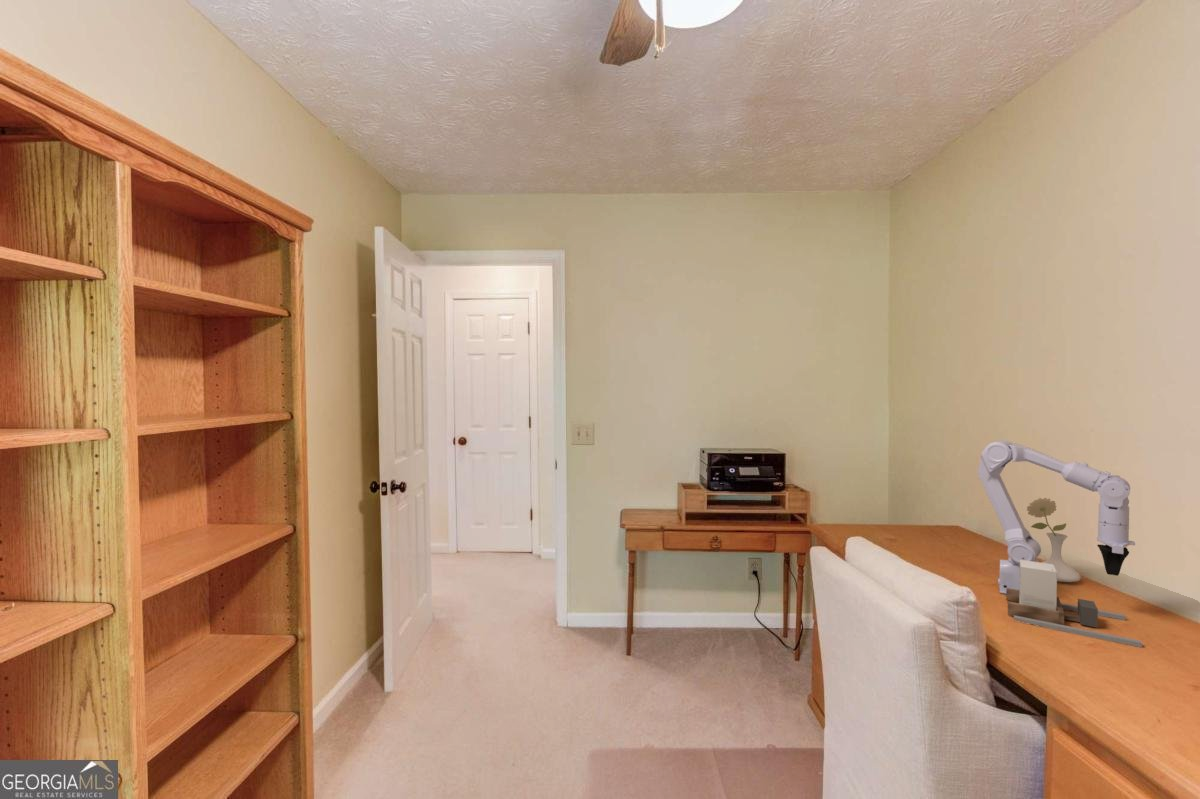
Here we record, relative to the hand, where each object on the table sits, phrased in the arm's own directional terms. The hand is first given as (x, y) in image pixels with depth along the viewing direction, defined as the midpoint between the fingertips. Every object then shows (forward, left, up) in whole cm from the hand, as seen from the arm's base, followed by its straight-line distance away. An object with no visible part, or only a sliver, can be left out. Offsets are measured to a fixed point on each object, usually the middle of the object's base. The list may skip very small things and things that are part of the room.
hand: (1112, 574), depth 138 cm
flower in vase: (-10, +25, -11) cm, 28 cm away
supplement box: (-16, -11, -11) cm, 22 cm away
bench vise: (-13, -11, -10) cm, 20 cm away
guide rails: (-9, -11, -10) cm, 18 cm away
